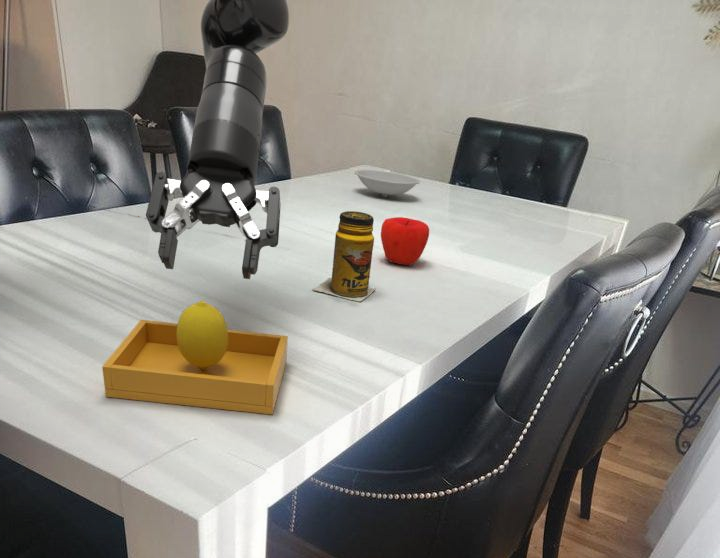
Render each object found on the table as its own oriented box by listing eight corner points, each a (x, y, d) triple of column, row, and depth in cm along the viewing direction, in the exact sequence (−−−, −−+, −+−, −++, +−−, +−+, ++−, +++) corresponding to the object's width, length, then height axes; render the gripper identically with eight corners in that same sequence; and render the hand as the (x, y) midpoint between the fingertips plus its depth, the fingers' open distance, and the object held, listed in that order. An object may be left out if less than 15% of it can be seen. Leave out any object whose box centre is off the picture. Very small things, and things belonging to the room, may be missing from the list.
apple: (383, 269, 118) (389, 224, 114) (372, 254, 125) (377, 212, 121) (429, 271, 120) (437, 227, 116) (416, 257, 127) (423, 215, 123)
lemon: (228, 360, 77) (227, 294, 72) (228, 381, 72) (228, 312, 68) (179, 358, 75) (176, 291, 71) (176, 379, 71) (173, 309, 66)
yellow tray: (105, 397, 68) (102, 366, 66) (143, 346, 79) (141, 319, 77) (272, 414, 69) (273, 385, 67) (286, 362, 80) (287, 335, 78)
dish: (344, 194, 170) (346, 173, 167) (362, 186, 181) (364, 167, 179) (409, 206, 166) (412, 186, 163) (422, 198, 178) (425, 178, 175)
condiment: (360, 302, 102) (369, 223, 95) (311, 290, 104) (317, 212, 97) (376, 290, 107) (385, 214, 101) (329, 279, 109) (335, 204, 103)
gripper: (156, 107, 70) (131, 244, 67) (287, 125, 70) (269, 261, 67) (171, 154, 77) (149, 279, 74) (290, 170, 78) (274, 294, 75)
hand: (207, 270), depth 71 cm, fingers open, 8 cm apart
